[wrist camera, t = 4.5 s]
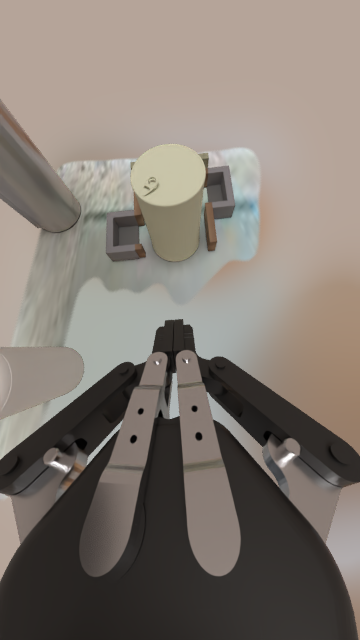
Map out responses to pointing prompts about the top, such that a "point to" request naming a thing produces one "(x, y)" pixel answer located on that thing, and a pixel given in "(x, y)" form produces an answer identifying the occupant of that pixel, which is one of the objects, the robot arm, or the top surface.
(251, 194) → the top surface
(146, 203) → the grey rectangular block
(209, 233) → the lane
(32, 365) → the pill bottle
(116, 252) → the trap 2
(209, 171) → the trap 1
